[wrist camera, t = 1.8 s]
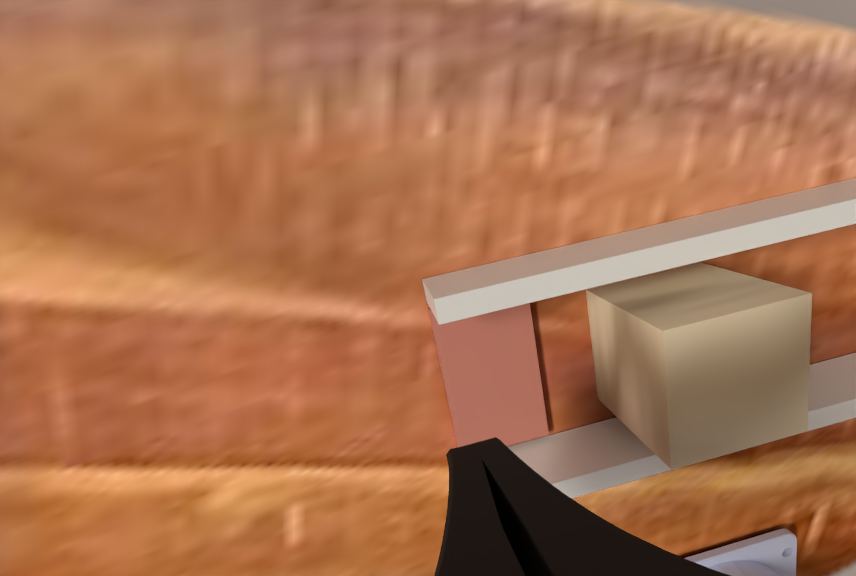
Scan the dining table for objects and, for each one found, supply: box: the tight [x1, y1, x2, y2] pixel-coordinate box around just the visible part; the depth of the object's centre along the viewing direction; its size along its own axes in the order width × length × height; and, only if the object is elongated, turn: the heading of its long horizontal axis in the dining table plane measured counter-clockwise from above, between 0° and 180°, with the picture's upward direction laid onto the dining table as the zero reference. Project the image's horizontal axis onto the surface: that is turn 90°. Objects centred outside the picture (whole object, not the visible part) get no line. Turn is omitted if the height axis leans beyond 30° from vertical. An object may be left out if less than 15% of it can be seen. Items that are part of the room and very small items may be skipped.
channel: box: [422, 178, 856, 498], centre depth 16 cm, size 8×18×2 cm, turn 102°
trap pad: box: [428, 303, 549, 447], centre depth 17 cm, size 6×4×1 cm, turn 12°
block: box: [586, 262, 812, 470], centre depth 15 cm, size 4×4×4 cm
